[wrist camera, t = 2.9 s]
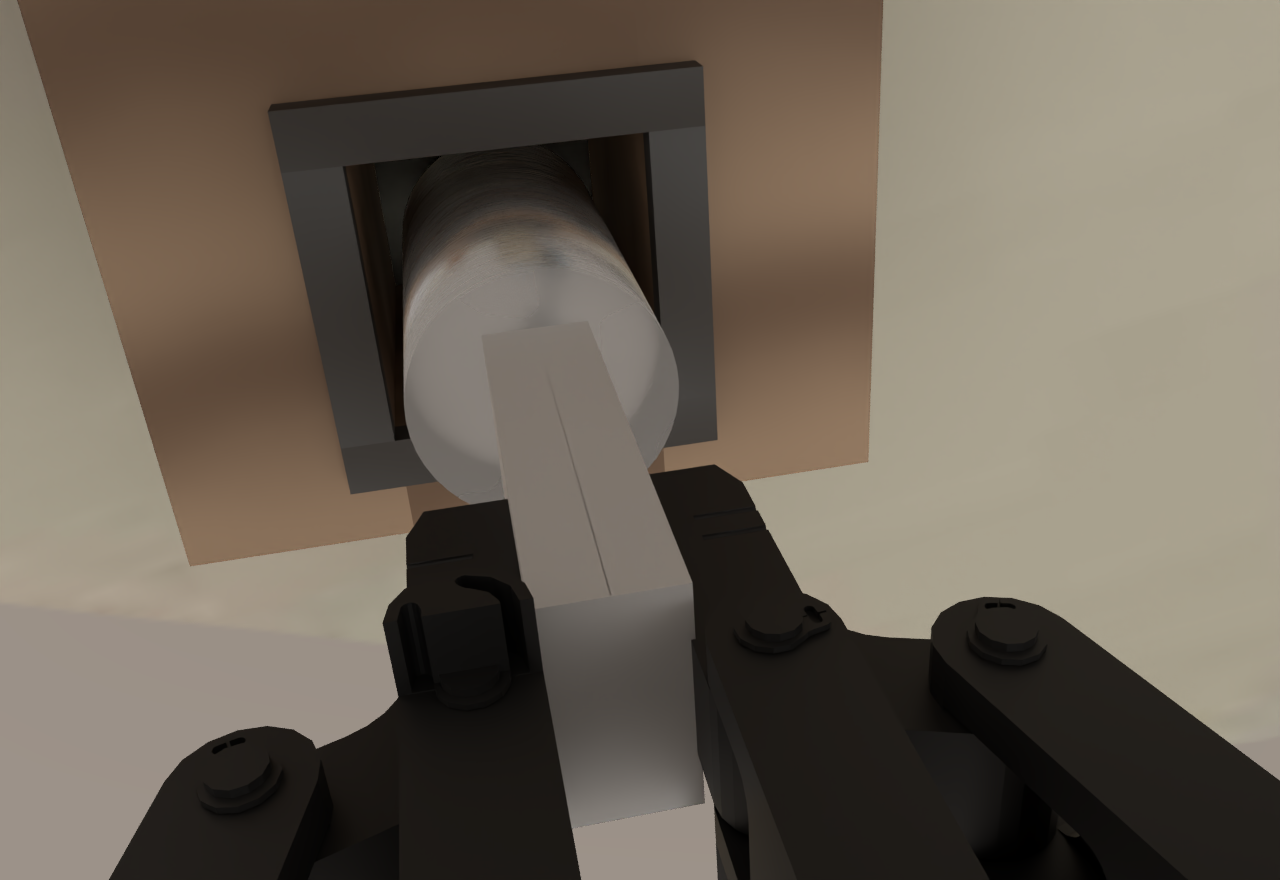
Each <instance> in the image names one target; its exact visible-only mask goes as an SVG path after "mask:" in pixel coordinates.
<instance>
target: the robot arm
mask: <svg viewBox="0 0 1280 880" xmlns="http://www.w3.org/2000/svg"><path fill="white" fill-rule="evenodd" d="M481 337H482V344H483V351H484V358H485V365H486V372H487V379H488V386H489V393H490V400H491V407H492V414H493V421H494V428H495V435H496V442H497V449H498V456H499V463H500V470H501V477H502V484H503V491H504V498H505V499H503V500H496V501H490V502H483V503H477V504H470V505H463V506H457V507H450V508H444V509H437V510H431V511H424V512H423V513H422V515H421V516H420V518H419V519H418V521H417V522H416V524H415V525H414V527H413V528H412V530H411V531H410V533H409V534H408V535H407V537H406V565H407V569H406V570H407V588H406V589H404V590H403V591H402V592H401V593H400V594H399V595H398V596H397V597H396V598H395V599H394V600H393V601H392V602H391V603H390V604H389V606H388V609H387V612H386V615H385V617H384V620H383V627H384V632H385V636H386V641H387V646H388V650H389V655H390V660H391V664H392V668H393V674H394V678H395V683H396V688H397V692H398V696H399V697H398V699H397V700H396V701H395V702H394V703H393V705H392V706H391V707H390V708H389V709H388V710H387V711H386V712H385V713H384V714H383V715H381V716H380V717H379V718H378V719H376V720H375V721H373V722H372V723H371V724H369V725H368V726H366V727H364V728H362V729H360V730H358V731H356V732H354V733H352V734H351V735H349V736H346V737H344V738H342V739H339V740H337V741H334V742H332V743H330V744H327V745H325V746H322V747H320V748H317V749H316V748H315V746H314V744H313V742H312V740H310V739H308V738H307V737H305V736H303V735H301V734H300V733H298V732H296V731H295V730H292V729H285V728H277V727H270V726H265V727H258V728H251V729H244V730H238V731H235V732H233V733H230V734H227V735H225V736H223V737H220V738H218V739H215V740H212V741H210V742H208V743H206V744H205V745H203V746H202V747H200V748H199V749H197V750H196V751H195V752H193V753H192V754H190V755H189V756H187V757H186V758H185V759H183V760H182V761H181V762H180V763H179V765H178V766H177V767H176V768H175V770H174V771H173V772H172V773H171V774H170V776H169V777H168V778H167V779H166V780H165V782H164V783H163V785H162V787H161V789H160V790H159V792H158V794H157V796H156V798H155V799H154V801H153V803H152V805H151V807H150V808H149V810H148V812H147V813H146V815H145V817H144V819H143V820H142V822H141V824H140V826H139V827H138V829H137V831H136V833H135V835H134V836H133V838H132V840H131V842H130V843H129V845H128V847H127V849H126V850H125V852H124V854H123V856H122V858H121V859H120V861H119V863H118V865H117V866H116V868H115V870H114V872H113V873H112V875H111V877H110V879H109V880H581V877H580V871H579V865H578V860H577V855H576V849H575V843H574V838H573V833H572V829H573V828H578V827H583V826H588V825H593V824H599V823H603V822H609V821H614V820H620V819H625V818H630V817H635V816H640V815H646V814H651V813H656V812H661V811H666V810H672V809H677V808H682V807H687V806H692V805H698V804H703V803H705V799H704V781H703V772H704V774H705V777H706V780H707V784H708V787H709V790H710V793H711V796H712V799H713V802H714V811H715V831H716V850H717V851H716V852H717V870H718V871H717V872H718V880H1280V781H1279V780H1278V779H1277V778H1275V777H1274V776H1273V775H1271V774H1270V773H1269V772H1267V771H1266V770H1265V769H1263V768H1262V767H1261V766H1259V765H1258V764H1257V763H1255V762H1254V761H1253V760H1251V759H1250V758H1249V757H1247V756H1246V755H1245V754H1243V753H1242V752H1241V751H1239V750H1238V749H1237V748H1235V747H1234V746H1233V745H1231V744H1230V743H1229V742H1227V741H1226V740H1225V739H1223V738H1222V737H1221V736H1219V735H1218V734H1217V733H1215V732H1214V731H1213V730H1211V729H1210V728H1209V727H1207V726H1206V725H1205V724H1203V723H1202V722H1201V721H1199V720H1198V719H1197V718H1195V717H1194V716H1193V715H1191V714H1190V713H1189V712H1187V711H1186V710H1185V709H1183V708H1182V707H1181V706H1179V705H1178V704H1177V703H1175V702H1174V701H1173V700H1171V699H1170V698H1169V697H1167V696H1166V695H1165V694H1163V693H1162V692H1161V691H1159V690H1158V689H1157V688H1155V687H1154V686H1153V685H1151V684H1150V683H1149V682H1147V681H1146V680H1145V679H1143V678H1142V677H1141V676H1139V675H1138V674H1137V673H1135V672H1134V671H1133V670H1131V669H1130V668H1129V667H1127V666H1126V665H1125V664H1123V663H1122V662H1121V661H1119V660H1118V659H1117V658H1115V657H1114V656H1113V655H1111V654H1110V653H1109V652H1107V651H1106V650H1104V649H1103V648H1102V647H1100V646H1099V645H1098V644H1096V643H1095V642H1094V641H1092V640H1091V639H1090V638H1088V637H1087V636H1086V635H1084V634H1083V633H1082V632H1080V631H1079V630H1078V629H1076V628H1075V627H1074V626H1072V625H1071V624H1070V623H1068V622H1067V621H1066V620H1064V619H1063V618H1061V617H1060V616H1058V615H1056V614H1054V613H1052V612H1050V611H1049V610H1047V609H1045V608H1043V607H1041V606H1039V605H1036V604H1032V603H1028V602H1025V601H1021V600H1017V599H1013V598H997V597H981V598H976V599H972V600H967V601H962V602H958V603H957V604H955V605H953V606H951V607H950V608H948V609H946V610H944V611H943V612H941V613H940V615H939V616H938V618H937V620H936V621H935V623H934V624H933V626H932V628H931V639H910V638H889V637H880V636H872V635H865V634H861V633H858V632H854V631H850V630H847V628H846V626H845V625H844V623H843V621H842V619H841V618H840V617H839V616H838V615H837V614H836V613H835V612H834V611H833V610H832V608H831V607H830V606H829V605H828V604H826V603H824V602H822V601H820V600H818V599H816V598H813V597H811V596H809V595H807V594H803V593H802V591H801V589H800V588H799V586H798V584H797V582H796V580H795V578H794V576H793V575H792V573H791V571H790V569H789V567H788V565H787V564H786V562H785V560H784V558H783V556H782V554H781V552H780V551H779V549H778V547H777V545H776V543H775V541H774V540H773V538H772V536H771V534H770V532H769V530H766V525H765V523H764V521H763V519H762V517H761V516H760V514H759V512H758V510H757V511H756V508H755V504H754V503H753V501H752V499H751V497H750V495H749V493H748V492H747V490H746V488H745V486H744V484H743V482H741V481H740V480H738V479H737V478H735V477H734V476H732V475H731V474H729V473H727V472H726V471H724V470H723V469H721V468H720V467H718V466H717V465H715V464H713V465H706V466H699V467H693V468H686V469H680V470H673V471H667V472H660V473H653V474H649V473H648V470H647V468H646V465H645V463H644V460H643V458H642V455H641V453H640V450H639V448H638V445H637V443H636V440H635V438H634V435H633V433H632V430H631V428H630V425H629V423H628V420H627V418H626V415H625V413H624V410H623V408H622V405H621V403H620V400H619V398H618V395H617V393H616V390H615V388H614V385H613V383H612V380H611V378H610V375H609V373H608V370H607V368H606V365H605V363H604V360H603V358H602V355H601V353H600V350H599V348H598V345H597V343H596V340H595V338H594V335H593V333H592V330H591V328H590V325H589V323H588V321H583V322H575V323H568V324H560V325H553V326H545V327H538V328H530V329H523V330H515V331H508V332H500V333H493V334H485V335H481Z"/></svg>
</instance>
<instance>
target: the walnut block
mask: <svg viewBox="0 0 1280 880" xmlns="http://www.w3.org/2000/svg"><path fill="white" fill-rule="evenodd" d="M17 1H18V4H19V7H20V11H21V14H22V17H23V20H24V24H25V27H26V30H27V33H28V37H29V40H30V43H31V47H32V50H33V53H34V56H35V60H36V63H37V66H38V70H39V73H40V76H41V79H42V83H43V86H44V89H45V92H46V96H47V99H48V102H49V106H50V109H51V112H52V115H53V119H54V122H55V125H56V129H57V132H58V135H59V138H60V142H61V145H62V148H63V151H64V155H65V158H66V161H67V165H68V168H69V171H70V174H71V178H72V181H73V184H74V187H75V191H76V194H77V197H78V201H79V204H80V207H81V210H82V214H83V217H84V220H85V224H86V227H87V230H88V233H89V237H90V240H91V243H92V246H93V250H94V253H95V256H96V260H97V263H98V266H99V269H100V273H101V276H102V279H103V282H104V286H105V289H106V292H107V296H108V299H109V302H110V305H111V309H112V312H113V315H114V319H115V322H116V325H117V328H118V332H119V335H120V338H121V341H122V345H123V348H124V351H125V355H126V358H127V361H128V364H129V368H130V371H131V374H132V378H133V381H134V384H135V387H136V391H137V394H138V397H139V400H140V404H141V407H142V410H143V414H144V417H145V420H146V423H147V427H148V430H149V433H150V436H151V440H152V443H153V446H154V450H155V453H156V456H157V459H158V463H159V466H160V469H161V473H162V476H163V479H164V482H165V486H166V489H167V492H168V495H169V499H170V502H171V505H172V509H173V512H174V515H175V518H176V522H177V525H178V528H179V532H180V535H181V538H182V541H183V545H184V548H185V551H186V554H187V558H188V561H189V564H190V566H195V565H201V564H208V563H214V562H221V561H227V560H234V559H240V558H247V557H253V556H260V555H266V554H273V553H279V552H286V551H292V550H299V549H305V548H312V547H318V546H325V545H331V544H338V543H344V542H351V541H357V540H364V539H370V538H377V537H383V536H390V535H396V534H403V533H409V532H410V531H411V530H412V528H413V527H414V525H415V524H416V522H417V521H418V519H419V518H420V516H421V515H422V513H423V512H424V511H431V510H437V509H444V508H450V507H457V506H463V505H470V504H469V503H467V502H465V501H463V500H461V499H460V498H458V497H457V496H455V495H454V494H453V493H451V492H450V491H448V490H447V489H446V488H445V487H444V486H443V485H442V484H441V483H439V482H438V481H437V480H436V479H435V478H434V476H433V475H432V474H431V473H430V472H429V470H428V469H427V468H426V467H425V465H424V464H423V462H422V460H421V459H420V457H419V456H418V454H417V452H416V450H415V448H414V445H413V443H412V441H411V438H410V435H409V432H408V428H407V424H406V419H405V410H404V357H403V285H398V286H396V284H395V279H394V273H393V267H392V262H391V256H390V250H389V245H388V239H387V233H386V228H385V222H384V217H383V211H382V205H381V200H380V194H379V188H378V183H377V177H376V172H375V166H374V163H377V162H386V161H394V160H403V159H412V158H421V157H430V156H439V155H448V154H457V153H466V152H475V151H484V150H493V149H502V148H511V147H520V146H529V145H538V144H547V143H556V142H565V141H574V140H582V139H588V148H589V159H590V171H591V182H592V193H593V201H594V203H595V205H596V207H597V209H598V211H599V213H600V214H601V216H602V218H603V220H604V222H605V224H606V226H607V227H608V229H609V231H610V233H611V235H612V237H613V239H614V240H615V242H616V244H617V246H618V248H619V250H620V252H621V253H622V255H623V257H624V259H625V261H626V263H627V265H628V266H629V268H630V270H631V272H632V274H633V276H634V278H635V279H636V281H637V283H638V285H639V287H640V289H641V291H642V292H643V294H644V296H645V298H646V300H647V302H648V304H649V305H650V307H651V309H652V311H653V313H654V315H655V317H656V318H657V320H658V322H659V324H660V326H661V328H662V330H663V331H664V333H665V335H666V337H667V340H668V342H669V344H670V346H671V349H672V351H673V354H674V358H675V362H676V365H677V372H678V379H679V399H678V406H677V412H676V416H675V420H674V423H673V426H672V430H671V432H670V434H669V436H668V439H667V441H666V443H665V445H664V447H663V448H662V450H661V452H660V453H659V455H658V456H657V458H656V459H655V461H654V462H653V463H652V464H651V466H650V467H649V468H648V469H647V470H648V473H649V474H653V473H660V472H667V471H673V470H680V469H686V468H693V467H699V466H706V465H713V464H715V465H717V466H718V467H720V468H721V469H723V470H724V471H726V472H727V473H729V474H731V475H732V476H734V477H735V478H737V479H738V480H740V481H747V480H753V479H760V478H766V477H773V476H779V475H786V474H792V473H799V472H805V471H812V470H818V469H825V468H831V467H838V466H844V465H851V464H857V463H864V462H868V453H869V422H870V391H871V360H872V329H873V298H874V267H875V236H876V205H877V174H878V143H879V112H880V81H881V50H882V19H883V0H17Z"/></svg>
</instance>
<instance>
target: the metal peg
mask: <svg viewBox="0 0 1280 880" xmlns="http://www.w3.org/2000/svg"><path fill="white" fill-rule="evenodd" d="M402 252H403V357H404V410H405V419H406V424H407V428H408V432H409V435H410V438H411V441H412V443H413V445H414V448H415V450H416V452H417V454H418V456H419V457H420V459H421V460H422V462H423V464H424V465H425V467H426V468H427V469H428V470H429V472H430V473H431V474H432V475H433V476H434V478H435V479H436V480H437V481H438V482H439V483H441V484H442V485H443V486H444V487H445V488H446V489H447V490H448V491H450V492H451V493H453V494H454V495H455V496H457V497H458V498H460V499H461V500H463V501H465V502H467V503H469V504H477V503H483V502H490V501H496V500H503V499H505V498H504V491H503V484H502V477H501V470H500V463H499V456H498V449H497V442H496V435H495V428H494V421H493V414H492V407H491V400H490V393H489V386H488V379H487V372H486V365H485V358H484V351H483V344H482V337H481V335H485V334H493V333H500V332H508V331H515V330H523V329H530V328H538V327H545V326H553V325H560V324H568V323H575V322H583V321H588V323H589V325H590V328H591V330H592V333H593V335H594V338H595V340H596V343H597V345H598V348H599V350H600V353H601V355H602V358H603V360H604V363H605V365H606V368H607V370H608V373H609V375H610V378H611V380H612V383H613V385H614V388H615V390H616V393H617V395H618V398H619V400H620V403H621V405H622V408H623V410H624V413H625V415H626V418H627V420H628V423H629V425H630V428H631V430H632V433H633V435H634V438H635V440H636V443H637V445H638V448H639V450H640V453H641V455H642V458H643V460H644V463H645V465H646V468H647V469H648V468H649V467H650V466H651V464H652V463H653V462H654V461H655V459H656V458H657V456H658V455H659V453H660V452H661V450H662V448H663V447H664V445H665V443H666V441H667V439H668V436H669V434H670V432H671V430H672V426H673V423H674V420H675V416H676V412H677V406H678V399H679V379H678V372H677V365H676V362H675V358H674V354H673V351H672V349H671V346H670V344H669V342H668V340H667V337H666V335H665V333H664V331H663V330H662V328H661V326H660V324H659V322H658V320H657V318H656V317H655V315H654V313H653V311H652V309H651V307H650V305H649V304H648V302H647V300H646V298H645V296H644V294H643V292H642V291H641V289H640V287H639V285H638V283H637V281H636V279H635V278H634V276H633V274H632V272H631V270H630V268H629V266H628V265H627V263H626V261H625V259H624V257H623V255H622V253H621V252H620V250H619V248H618V246H617V244H616V242H615V240H614V239H613V237H612V235H611V233H610V231H609V229H608V227H607V226H606V224H605V222H604V220H603V218H602V216H601V214H600V213H599V211H598V209H597V207H596V205H595V203H594V201H593V200H592V198H591V196H590V194H589V192H588V190H587V189H586V187H585V185H584V184H583V182H582V180H581V179H580V177H579V176H578V175H577V174H576V173H575V171H574V170H573V169H572V168H571V167H570V166H569V165H568V164H567V163H566V162H565V161H563V160H562V159H561V158H559V157H558V156H557V155H555V154H554V153H552V152H551V151H549V150H547V149H545V148H543V147H541V146H538V145H529V146H520V147H511V148H502V149H493V150H484V151H475V152H466V153H457V154H448V155H443V156H442V157H440V158H439V159H438V160H437V161H436V162H434V163H433V164H432V165H431V166H430V167H429V168H428V169H427V170H426V171H425V173H424V174H423V175H422V176H421V177H420V179H419V180H418V182H417V183H416V185H415V186H414V189H413V191H412V193H411V195H410V197H409V199H408V202H407V205H406V209H405V213H404V219H403V231H402Z"/></svg>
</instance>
